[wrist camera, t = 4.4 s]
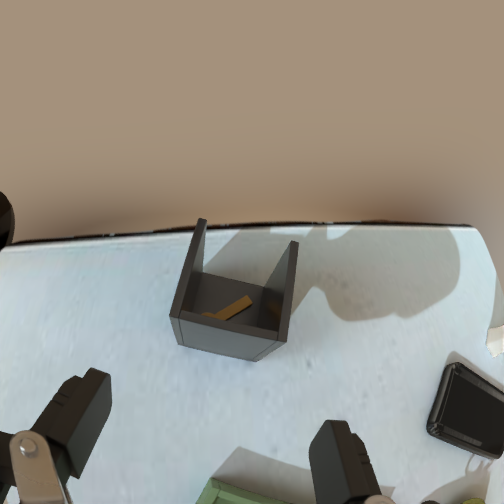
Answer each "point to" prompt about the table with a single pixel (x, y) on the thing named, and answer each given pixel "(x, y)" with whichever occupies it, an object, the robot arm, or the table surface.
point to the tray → (231, 495)
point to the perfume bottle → (495, 340)
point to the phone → (468, 412)
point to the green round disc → (474, 501)
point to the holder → (223, 295)
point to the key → (232, 309)
